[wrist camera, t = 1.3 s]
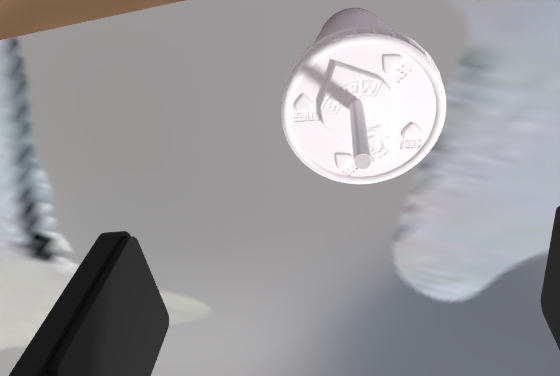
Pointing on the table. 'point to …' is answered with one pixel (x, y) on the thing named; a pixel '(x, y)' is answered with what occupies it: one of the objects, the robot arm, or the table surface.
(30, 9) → the wooden divided tray
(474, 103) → the table surface
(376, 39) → the smoothie
